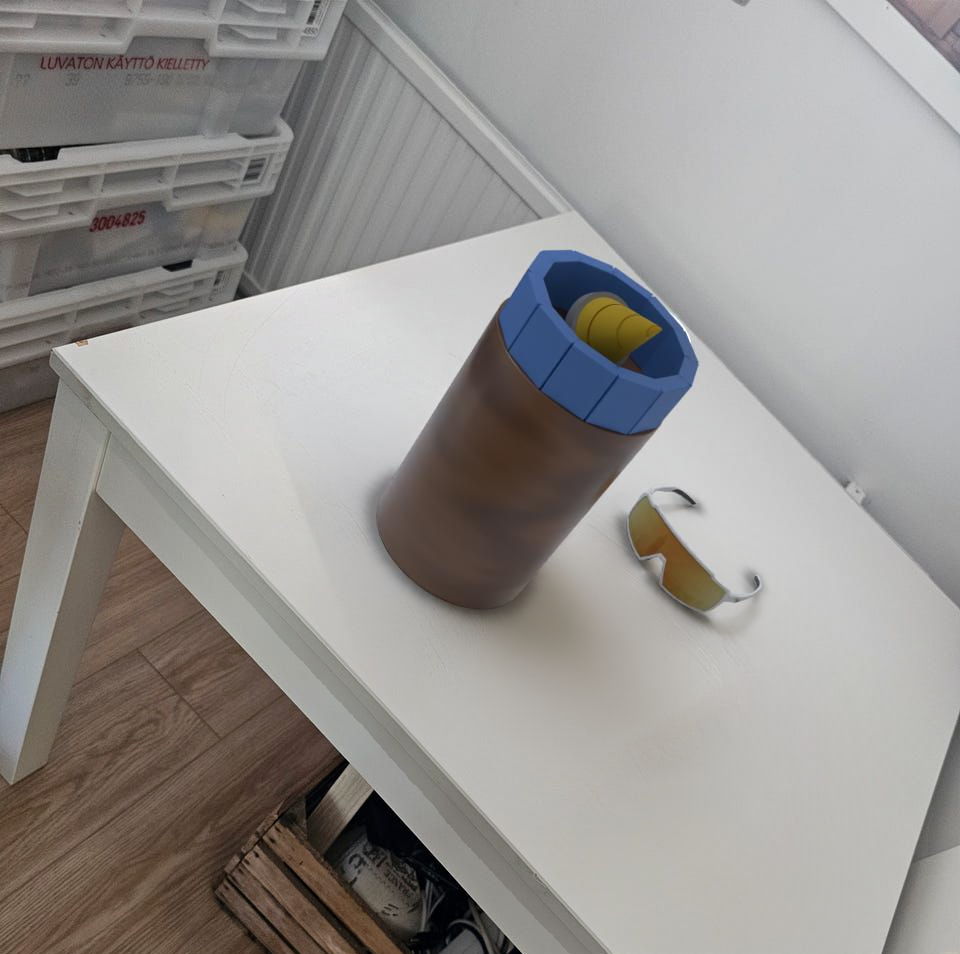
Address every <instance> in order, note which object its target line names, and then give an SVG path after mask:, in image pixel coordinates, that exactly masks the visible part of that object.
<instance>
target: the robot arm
mask: <svg viewBox="0 0 960 954" xmlns="http://www.w3.org/2000/svg"><path fill="white" fill-rule="evenodd" d="M731 1H732V2H734V3H735V4H738V6H740V7H742V8H743V7H746V6H747V5H748V4H749V3H750V2H751V0H731Z"/></svg>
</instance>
